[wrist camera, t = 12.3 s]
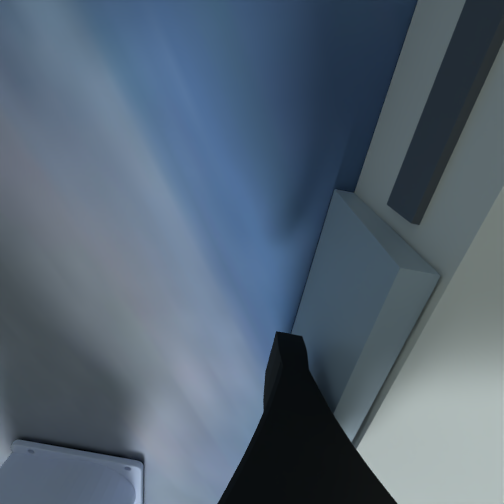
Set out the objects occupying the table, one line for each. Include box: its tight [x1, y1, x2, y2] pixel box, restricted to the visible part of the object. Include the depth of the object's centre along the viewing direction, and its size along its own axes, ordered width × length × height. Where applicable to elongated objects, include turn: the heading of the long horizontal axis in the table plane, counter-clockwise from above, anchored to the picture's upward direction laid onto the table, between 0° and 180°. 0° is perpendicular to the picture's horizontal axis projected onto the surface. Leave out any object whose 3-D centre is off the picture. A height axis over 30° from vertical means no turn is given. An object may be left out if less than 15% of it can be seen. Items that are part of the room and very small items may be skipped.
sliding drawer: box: [291, 189, 441, 442], centre depth 11 cm, size 10×11×7 cm
